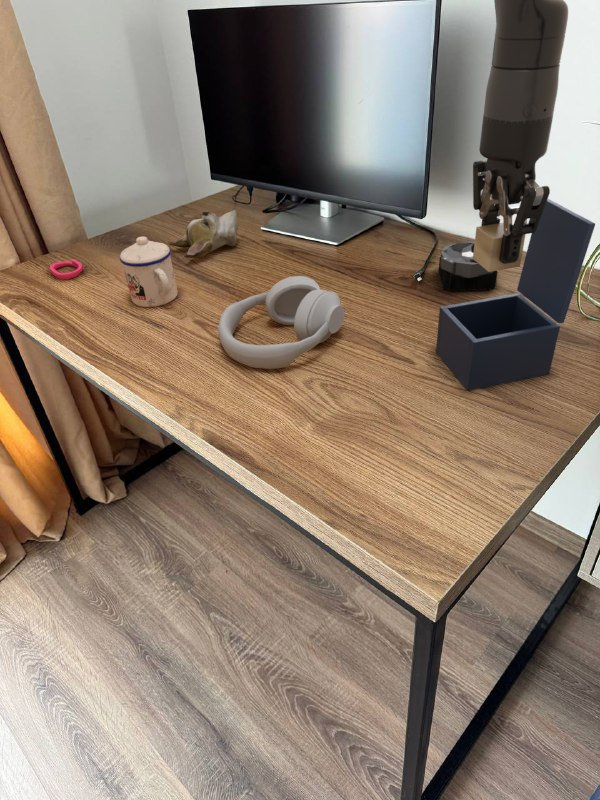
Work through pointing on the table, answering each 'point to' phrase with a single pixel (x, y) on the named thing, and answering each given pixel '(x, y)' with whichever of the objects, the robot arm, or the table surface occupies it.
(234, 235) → the ceramic sculpture
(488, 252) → the block
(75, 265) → the fitness band
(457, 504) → the table surface
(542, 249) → the lid
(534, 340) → the chest
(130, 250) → the teacup with lid
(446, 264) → the cpu cooler
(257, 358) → the headphones
